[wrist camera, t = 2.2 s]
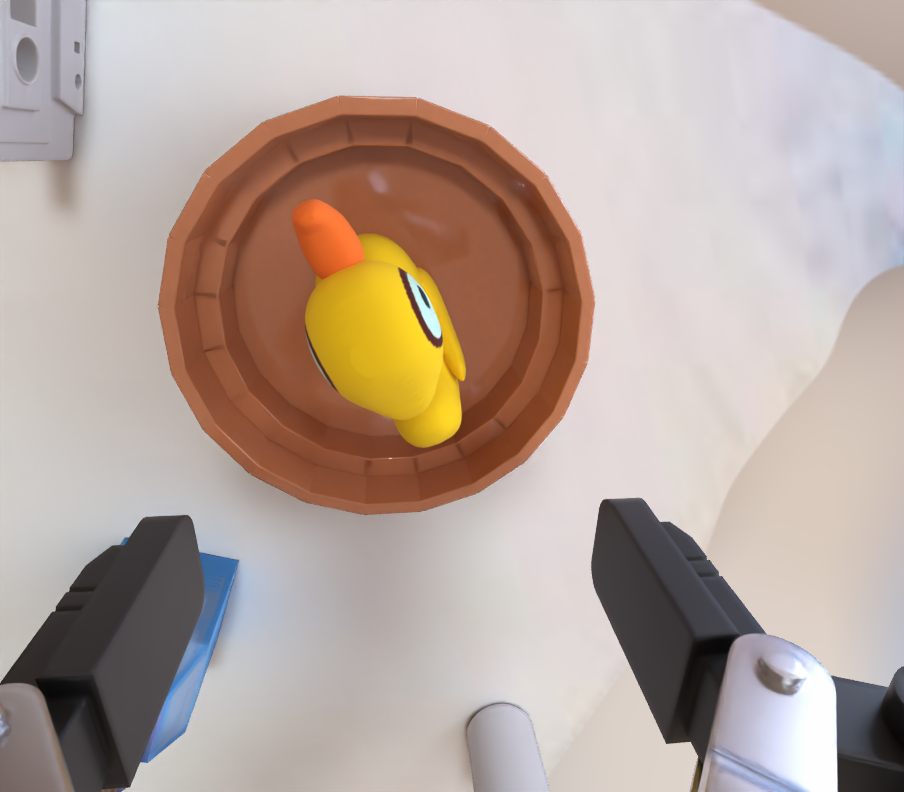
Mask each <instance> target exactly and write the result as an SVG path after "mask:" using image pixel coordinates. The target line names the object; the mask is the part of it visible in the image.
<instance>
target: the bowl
mask: <svg viewBox="0 0 904 792" xmlns="http://www.w3.org/2000/svg"><path fill="white" fill-rule="evenodd" d="M310 199H317V200H320V201H322V202H324V203H326V204H328V205H330V206H331V207H333V208H334V209H336V210H337V211H338V212H339V213H341V214H342V215H343V216H344V218H345V219H346V220H347V221H348V223H349V224H350V226H351V227H352V229H353V230H354V231H355V233H356V235H360V234H378V235H382V236H384V237H387V238H389V239H390V240H392V241H394V242H395V243H396V244H398V245H399V246H400V247H401V248H402V249H403V250H404V251H405V252H406V253H407V255H408V256H409V257H410V259H411V260H412V261H413V263H414V264H415V266H416V267H418V268H422V269H423V270H425V271H426V272H427V273H428V274H429V275H430V276H431V278H432V279H433V281H434V282H435V284H436V286H437V288H438V290H439V292H440V294H441V296H442V299H443V301H444V304H445V306H446V309H447V311H448V314H449V316H450V319H451V322H452V324H453V327H454V330H455V332H456V335H457V338H458V341H459V344H460V347H461V350H462V353H463V356H464V361H465V368H466V376H465V380H464V381H461V380H459V379H458V383H459V392H460V401H461V411H462V419H461V424H460V427H459V429H458V430H457V432H456V433H455V434H454V435H453V436H452V437H450V438H449V439H447V440H445V441H443V442H442V443H440V444H436V445H433V446H430V447H425V448H421V447H416V446H414V445H411V444H410V443H408V442H407V441H406V440H405V439H404V438H403V437H402V436H401V434H400V433H399V431H398V429H397V427H396V425H395V423H394V420H393V419H390V418H387V417H384V416H382V415H380V414H378V413H376V412H373V411H371V410H368V409H366V408H363V407H361V406H358V405H356V404H354V403H352V402H351V401H349V400H347V399H346V398H344V397H343V396H342V395H341V394H339V393H338V392H337V391H336V390H335V389H334V388H333V387H332V386H331V385H330V384H329V382H328V381H327V380H326V379H325V377H324V376H323V374H322V373H321V371H320V370H319V368H318V366H317V364H316V363H315V361H314V358H313V356H312V354H311V351H310V348H309V345H308V341H307V337H306V331H305V313H306V307H307V303H308V300H309V298H310V296H311V294H312V292H313V290H314V289H315V288H316V287H315V279H316V273H315V272H314V271H313V269H312V268H311V266H310V265H309V263H308V261H307V259H306V257H305V255H304V253H303V251H302V249H301V247H300V245H299V242H298V239H297V236H296V233H295V230H294V226H293V223H292V212H293V210H294V209H295V207H296V206H297V205H299V204H301V203H302V202H304V201H307V200H310ZM594 299H595V296H594V291H593V286H592V281H591V276H590V271H589V266H588V262H587V257H586V252H585V247H584V242H583V237H582V235H581V232H580V230H579V229H578V227H577V225H576V224H575V222H574V220H573V218H572V217H571V215H570V213H569V212H568V210H567V208H566V206H565V205H564V203H563V201H562V200H561V198H560V196H559V194H558V193H557V191H556V189H555V188H554V186H553V184H552V182H551V181H550V179H549V177H548V176H547V175H546V174H545V172H544V171H542V170H541V169H540V168H539V167H538V166H537V165H535V164H534V163H533V162H532V161H531V160H530V159H528V158H527V157H526V156H525V155H524V154H523V153H521V152H520V151H519V150H518V149H517V148H516V147H514V146H513V145H512V144H511V143H510V142H509V141H507V140H506V139H505V138H504V137H503V136H502V135H500V134H499V133H498V132H497V131H496V130H495V129H493V128H492V127H489V125H487V124H485V123H482V122H480V121H477V120H474V119H472V118H469V117H467V116H464V115H461V114H459V113H456V112H454V111H451V110H449V109H446V108H443V107H441V106H438V105H436V104H433V103H431V102H428V101H425V100H423V99H420V98H418V99H417V98H416V97H377V96H339V97H337V96H336V97H333V98H330V99H327V100H324V101H321V102H318V103H315V104H313V105H310V106H307V107H304V108H301V109H298V110H295V111H292V112H289V113H286V114H284V115H281V116H278V117H275V118H272V119H269V120H266V121H265V122H262V123H261V124H260V125H258V126H257V127H256V128H255V129H254V130H252V131H251V132H250V133H249V134H248V135H246V136H245V137H244V138H243V139H242V140H240V141H239V142H238V143H237V144H236V145H235V146H233V147H232V148H231V149H230V150H229V151H227V152H226V153H225V154H224V155H223V156H221V157H220V158H219V159H218V160H217V161H215V162H214V163H213V164H212V165H211V166H209V167H208V168H207V169H206V170H205V172H204V173H203V174H202V176H201V178H200V180H199V181H198V183H197V185H196V187H195V189H194V190H193V192H192V194H191V196H190V198H189V199H188V201H187V203H186V205H185V207H184V208H183V210H182V212H181V214H180V216H179V217H178V219H177V221H176V223H175V225H174V226H173V228H172V230H171V232H170V234H169V237H168V241H167V248H166V255H165V261H164V268H163V275H162V282H161V288H160V295H159V302H158V306H159V307H158V309H159V314H160V319H161V324H162V329H163V335H164V340H165V345H166V350H167V355H168V360H169V365H170V370H171V373H172V376H173V378H174V380H175V381H176V383H177V385H178V387H179V388H180V390H181V392H182V394H183V395H184V397H185V399H186V401H187V402H188V404H189V406H190V408H191V409H192V411H193V413H194V415H195V417H196V418H197V420H198V422H199V424H200V425H201V427H202V429H203V430H204V431H205V432H206V433H207V434H208V435H209V436H210V437H211V438H212V439H213V440H214V441H215V442H216V443H217V444H218V445H220V446H221V447H222V448H223V449H224V450H225V451H226V452H227V453H228V454H229V455H230V456H231V457H232V458H233V459H234V460H235V461H236V462H238V463H239V464H240V465H241V466H242V467H243V468H244V469H245V470H246V471H247V472H248V473H251V475H253V476H255V477H256V478H258V479H260V480H262V481H264V482H266V483H268V484H270V485H272V486H274V487H276V488H278V489H280V490H282V491H284V492H286V493H287V494H289V495H291V496H293V497H295V498H297V499H299V500H301V501H303V502H306V503H310V504H315V505H320V506H324V507H329V508H334V509H339V510H343V511H348V512H353V513H358V514H364V515H370V514H389V513H407V512H422V511H425V510H428V509H431V508H434V507H438V506H441V505H444V504H447V503H450V502H453V501H456V500H459V499H462V498H465V497H468V496H471V495H474V494H476V493H479V492H480V491H482V490H484V489H485V488H487V487H488V486H490V485H491V484H493V483H494V482H496V481H497V480H499V479H500V478H502V477H503V476H505V475H506V474H508V473H509V472H511V471H512V470H514V469H515V468H517V467H518V466H520V465H521V464H523V463H524V462H525V461H526V460H527V459H528V458H529V457H530V456H531V455H532V453H533V452H534V451H535V450H536V449H537V448H538V446H539V445H540V444H541V443H542V442H543V441H544V439H545V438H546V437H547V436H548V435H549V434H550V432H551V431H552V430H553V429H554V428H555V427H556V425H557V424H558V423H559V422H560V421H561V420H562V418H563V416H564V415H565V413H566V411H567V409H568V406H569V404H570V402H571V400H572V397H573V395H574V393H575V391H576V388H577V386H578V384H579V382H580V379H581V377H582V375H583V372H584V370H585V368H586V366H587V363H588V362H587V361H588V359H589V350H590V342H591V333H592V324H593V315H594V306H595V300H594Z"/></svg>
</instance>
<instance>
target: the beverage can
mask: <svg viewBox="0 0 904 792" xmlns="http://www.w3.org/2000/svg"><path fill="white" fill-rule="evenodd" d="M466 736H467V744H468V751H469V758H470V765H471V772H472V779H473V787H474V792H550V789H549V785H548V781H547V777H546V773H545V770H544V766H543V762H542V758H541V754H540V751H539V747H538V743H537V739H536V736H535V732H534V728H533V724H532V721H531V719H530V718H529V716H528V715H527V714H525V713H524V712H523V711H522V710H520V709H519V708H517V707H515V706H513V705H509V704H495V705H491V706H488V707H486V708H484V709H482V710H481V711H479V712H478V713H477V714H476V715H475V716H474V717H473V719H472V720H471V722H470V724H469V726H468V728H467V734H466Z"/></svg>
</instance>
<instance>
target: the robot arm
mask: <svg viewBox="0 0 904 792" xmlns="http://www.w3.org/2000/svg"><path fill="white" fill-rule="evenodd" d="M706 557H707V556H706V555H705V554H704V553H703V551H702V550H701V549H700V547H699V546H698V545H697V543H696V542H695V541H694V540H693V538H692V537H690V536H689V535H688V534H686V533H685V532H683V531H682V530H680V529H679V528H678V527H676V526H675V525H673V524H672V523H670V522H659V520H658V519H657V517H656V516H655V515H654V513H653V512H652V511H651V509H650V508H649V506H648V505H647V504H646V502H645V501H644V500H643V499H641V498H626V499H604V500H603V501H602V502H601V504H600V508H599V514H598V520H597V527H596V534H595V541H594V547H593V554H592V562H591V570H592V579H593V584H594V587H595V590H596V593H597V595H598V597H599V599H600V602H601V604H602V606H603V608H604V610H605V612H606V615H607V617H608V619H609V621H610V623H611V625H612V628H613V630H614V632H615V634H616V636H617V638H618V640H619V643H620V645H621V647H622V649H623V651H624V653H625V656H626V658H627V660H628V662H629V664H630V666H631V669H632V671H633V673H634V675H635V677H636V679H637V681H638V684H639V686H640V688H641V690H642V692H643V694H644V696H645V699H646V701H647V703H648V705H649V707H650V710H651V712H652V714H653V716H654V718H655V720H656V723H657V725H658V727H659V729H660V731H661V733H662V735H663V738H664V740H665V742H666V744H669V743H681V742H691V743H692V745H693V747H694V749H695V751H696V753H697V755H698V759H697V762H696V765H695V769H694V774H693V778H692V783H691V787H690V792H904V667H901V668H900V669H898V670H897V672H896V673H895V675H894V677H893V679H892V681H891V683H890V685H889V687H884V686H879V685H874V684H869V683H864V682H859V681H854V680H850V679H845V678H839V677H835V676H831V675H830V674H829V673H828V672H827V670H826V669H825V668H824V666H823V665H822V664H821V663H820V662H819V661H817V659H816V658H815V657H813V656H812V655H811V654H809V653H808V652H807V651H805V650H804V649H802V648H800V647H799V646H797V645H795V644H793V643H791V642H789V641H787V640H784V639H782V638H779V637H776V636H771V635H767V634H766V633H765V631H764V630H763V629H762V628H761V626H760V625H759V624H758V623H757V621H756V620H755V618H754V617H753V616H752V615H751V613H750V612H749V611H748V609H747V608H746V607H745V606H744V604H743V603H742V602H741V600H740V599H739V598H738V596H737V595H736V594H735V593H734V591H733V590H732V589H731V587H730V586H729V585H728V584H727V582H726V581H725V580H724V578H723V577H722V576H719V572H718V571H717V569H716V568H715V567H714V565H713V564H712V563H711V562H710V560H707V558H706ZM204 594H205V582H204V575H203V570H202V565H201V560H200V555H199V550H198V545H197V540H196V535H195V530H194V525H193V522H192V519H191V518H190V517H189V516H188V515H179V516H154V517H145V518H143V519H142V520H141V521H140V523H139V524H138V526H137V527H136V529H135V530H134V531H133V533H132V534H131V536H130V537H129V539H128V540H127V542H126V543H125V545H115V546H111V547H110V548H108V549H107V550H106V551H104V552H103V553H102V554H100V555H99V556H98V557H97V558H95V559H94V560H93V561H91V562H90V563H89V564H87V565H86V566H85V568H84V569H83V570H82V572H81V573H80V574H79V576H78V577H77V579H76V580H75V581H74V583H73V584H72V585H71V587H70V591H69V592H67V593H66V594H65V595H64V596H63V598H62V599H61V600H60V602H59V603H58V605H57V606H56V611H55V612H52V613H51V614H50V616H49V617H48V618H47V620H46V621H45V622H44V624H43V625H42V626H41V628H40V629H39V631H38V632H37V633H36V635H35V636H34V637H33V639H32V640H31V642H30V643H29V644H28V646H27V647H26V648H25V650H24V651H23V652H22V654H21V655H20V657H19V658H18V659H17V661H16V662H15V663H14V665H13V666H12V668H11V669H10V670H9V672H8V673H7V674H6V676H5V677H4V679H3V680H2V681H1V683H0V792H100V791H101V790H104V789H116V788H128V787H130V786H131V783H132V781H133V778H134V776H135V773H136V771H137V768H138V766H139V764H140V761H141V759H142V756H143V754H144V751H145V749H146V746H147V744H148V741H149V739H150V737H151V734H152V732H153V729H154V727H155V724H156V722H157V719H158V717H159V715H160V712H161V710H162V707H163V705H164V702H165V700H166V697H167V695H168V692H169V690H170V688H171V685H172V683H173V680H174V678H175V675H176V673H177V670H178V668H179V666H180V663H181V661H182V658H183V656H184V653H185V651H186V648H187V646H188V643H189V641H190V639H191V636H192V634H193V631H194V629H195V626H196V624H197V621H198V619H199V617H200V614H201V611H202V607H203V602H204Z"/></svg>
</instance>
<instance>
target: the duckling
mask: <svg viewBox="0 0 904 792" xmlns="http://www.w3.org/2000/svg"><path fill="white" fill-rule="evenodd" d="M292 223H293V226H294V230H295V233H296V236H297V239H298V242H299V245H300V247H301V249H302V251H303V253H304V255H305V257H306V259H307V261H308V263H309V265H310V266H311V268H312V269H313V271H314V272H315V273H316V279H315V287H316V288H315V289H314V290H313V292H312V294H311V296H310V298H309V300H308V303H307V307H306V313H305V331H306V337H307V341H308V345H309V348H310V351H311V354H312V356H313V358H314V361H315V363H316V364H317V366H318V368H319V370H320V371H321V373H322V374H323V376H324V377H325V379H326V380H327V381H328V382H329V384H330V385H331V386H332V387H333V388H334V389H335V390H336V391H337V392H338V393H339V394H341V395H342V396H343V397H344V398H346V399H347V400H349V401H351V402H352V403H354V404H356V405H358V406H361V407H363V408H366V409H368V410H371V411H373V412H376V413H378V414H380V415H382V416H384V417H387V418H390V419H393V420H394V423H395V425H396V427H397V429H398V431H399V433H400V434H401V436H402V437H403V438H404V439H405V440H406V441H407V442H408V443H410V444H411V445H414V446H416V447H421V448H425V447H430V446H433V445H436V444H440V443H442V442H443V441H445V440H447V439H449V438H450V437H452V436H453V435H454V434H455V433H456V432H457V430H458V429H459V427H460V424H461V419H462V411H461V401H460V392H459V383H458V379H459V380H461V381H464V380H465V376H466V368H465V361H464V356H463V353H462V350H461V347H460V344H459V341H458V338H457V335H456V332H455V330H454V327H453V324H452V322H451V319H450V316H449V314H448V311H447V309H446V306H445V304H444V301H443V299H442V296H441V294H440V292H439V290H438V288H437V286H436V284H435V282H434V281H433V279H432V278H431V276H430V275H429V274H428V273H427V272H426V271H425V270H423V269H422V268H418V267H416V266H415V264H414V263H413V261H412V260H411V259H410V257H409V256H408V255H407V253H406V252H405V251H404V250H403V249H402V248H401V247H400V246H399V245H398V244H396V243H395V242H394V241H392V240H390V239H389V238H387V237H384V236H382V235H378V234H360V235H356V233H355V231H354V230H353V229H352V227H351V226H350V224H349V223H348V221H347V220H346V219H345V218H344V216H343V215H342V214H341V213H339V212H338V211H337V210H336V209H334V208H333V207H331V206H330V205H328V204H326V203H324V202H322V201H320V200H317V199H310V200H307V201H304V202H302V203H301V204H299V205H297V206H296V207H295V209H294V210H293V212H292Z"/></svg>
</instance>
